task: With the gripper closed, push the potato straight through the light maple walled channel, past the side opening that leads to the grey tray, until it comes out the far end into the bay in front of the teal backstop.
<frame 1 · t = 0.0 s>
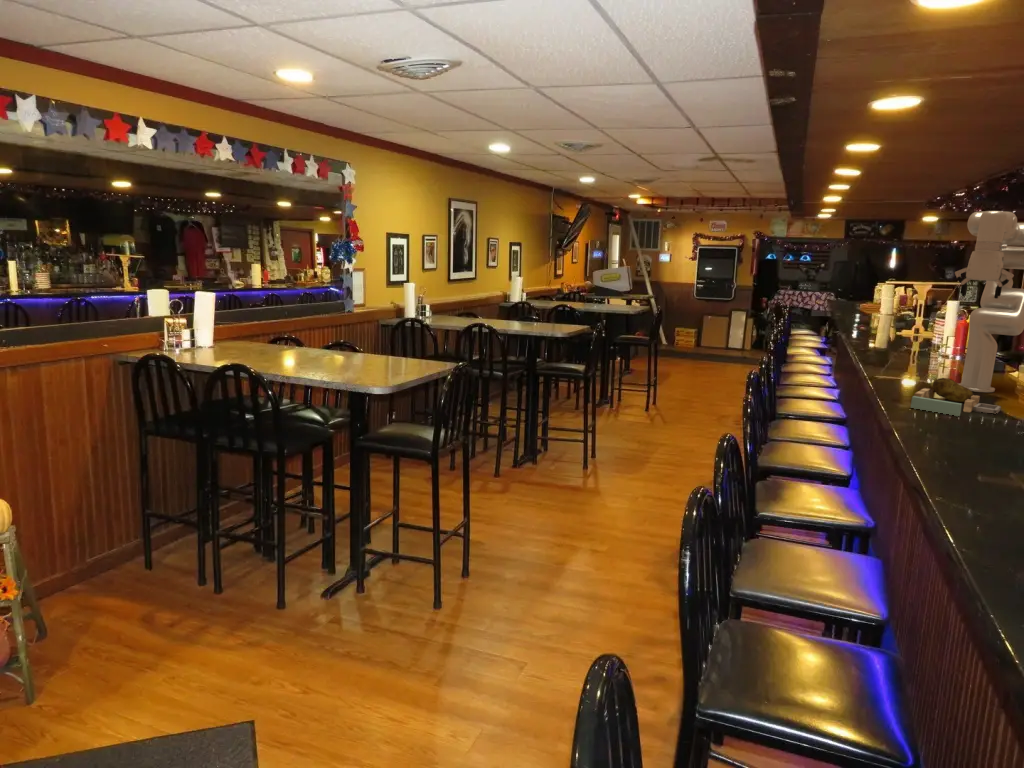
hand: (979, 297, 244), 37 cm above the counter, tool pointing down, fingers open, 9 cm apart
grey tray: (986, 410, 233), on the counter
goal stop: (934, 411, 229), on the counter
tunnel: (945, 404, 240), on the counter
potato: (951, 401, 247), on the counter
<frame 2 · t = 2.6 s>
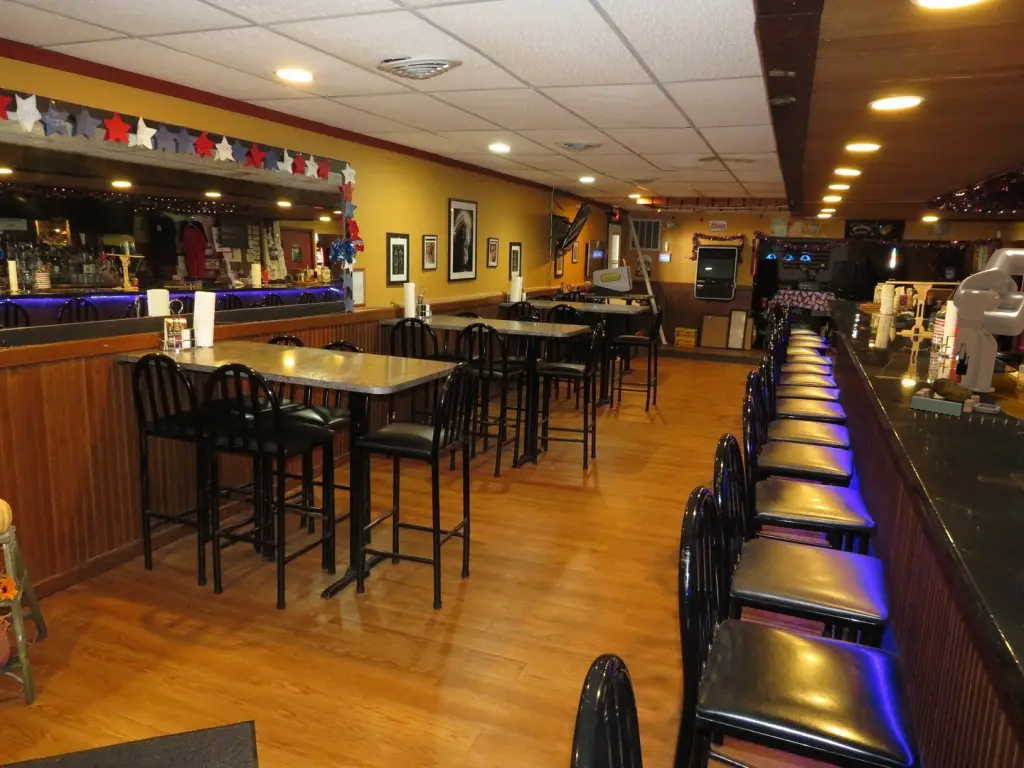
hand: (960, 374, 253), 8 cm above the counter, tool pointing down, fingers closed
nothing on the counter moved.
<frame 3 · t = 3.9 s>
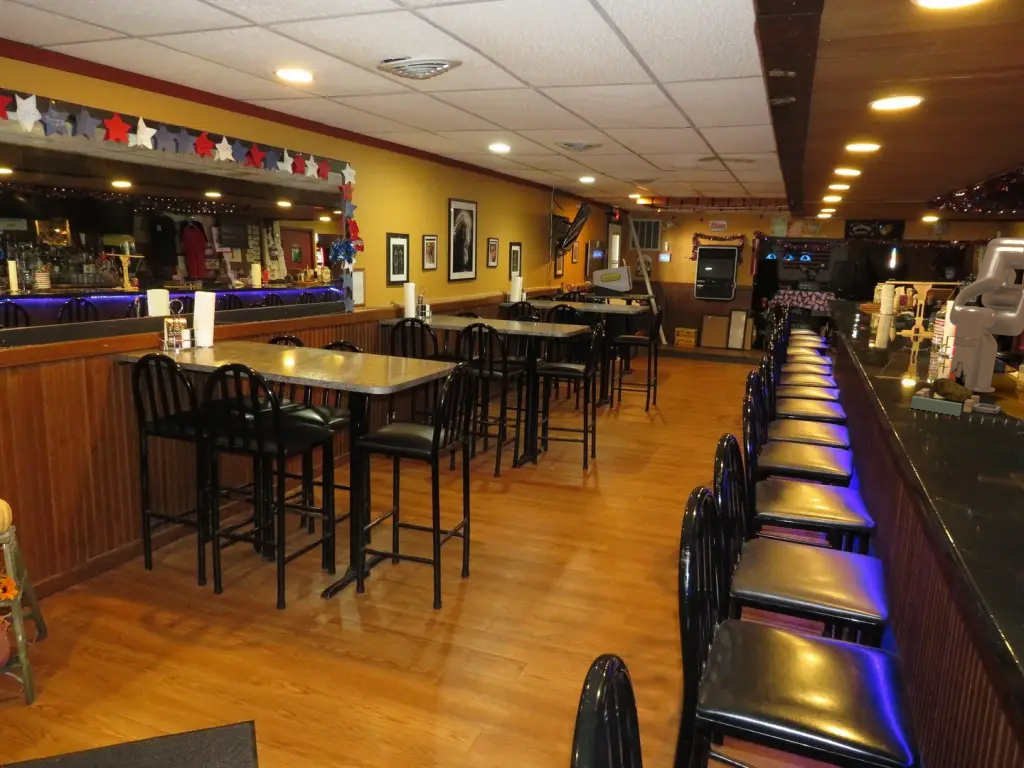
hand: (957, 391, 254), 2 cm above the counter, tool pointing down, fingers closed
nothing on the counter moved.
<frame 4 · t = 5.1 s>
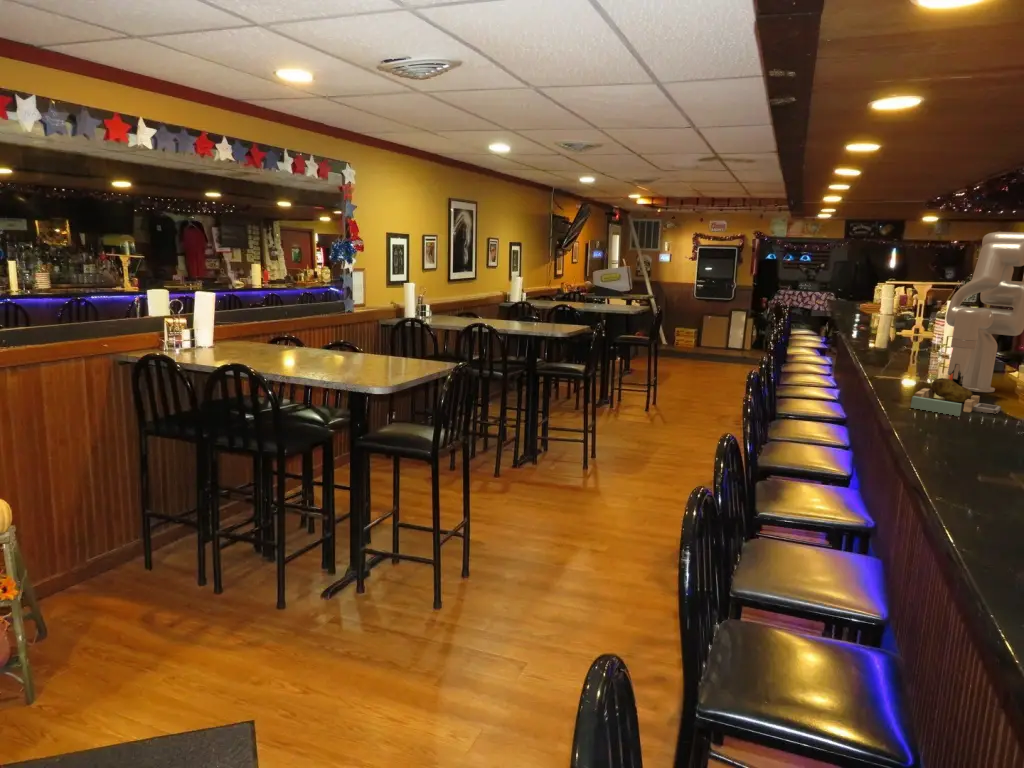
hand: (955, 394, 251), 2 cm above the counter, tool pointing down, fingers closed
potato: (950, 401, 246), on the counter, touching gripper
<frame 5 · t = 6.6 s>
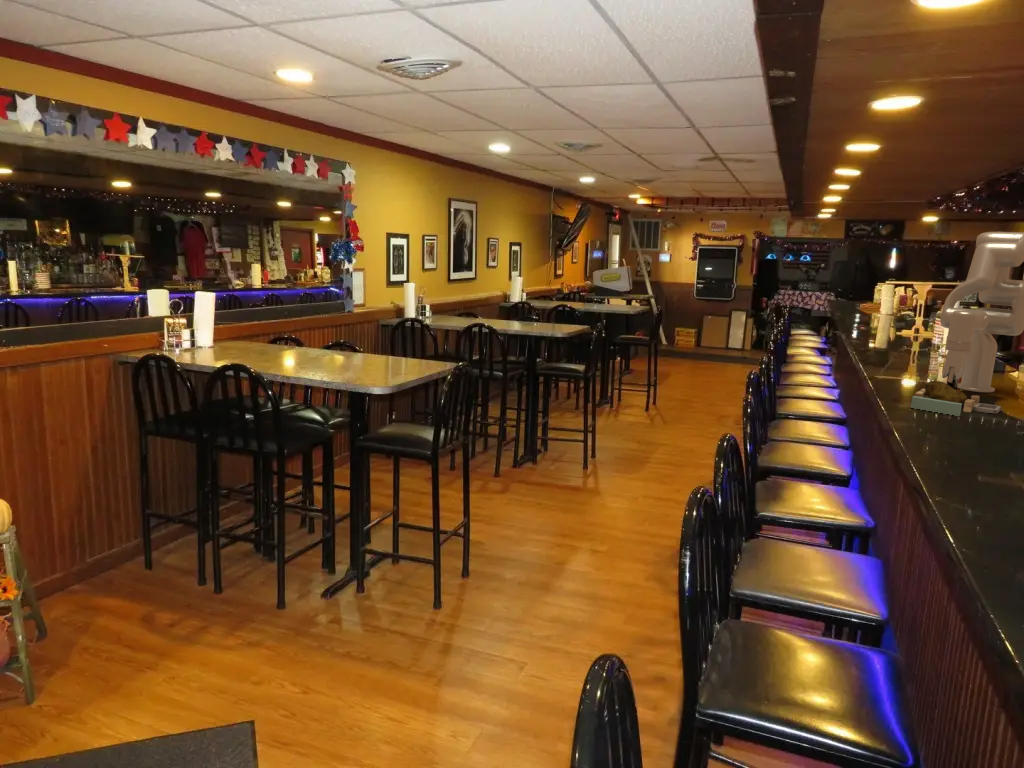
hand: (950, 397, 244), 2 cm above the counter, tool pointing down, fingers closed
potato: (943, 405, 241), on the counter, touching gripper
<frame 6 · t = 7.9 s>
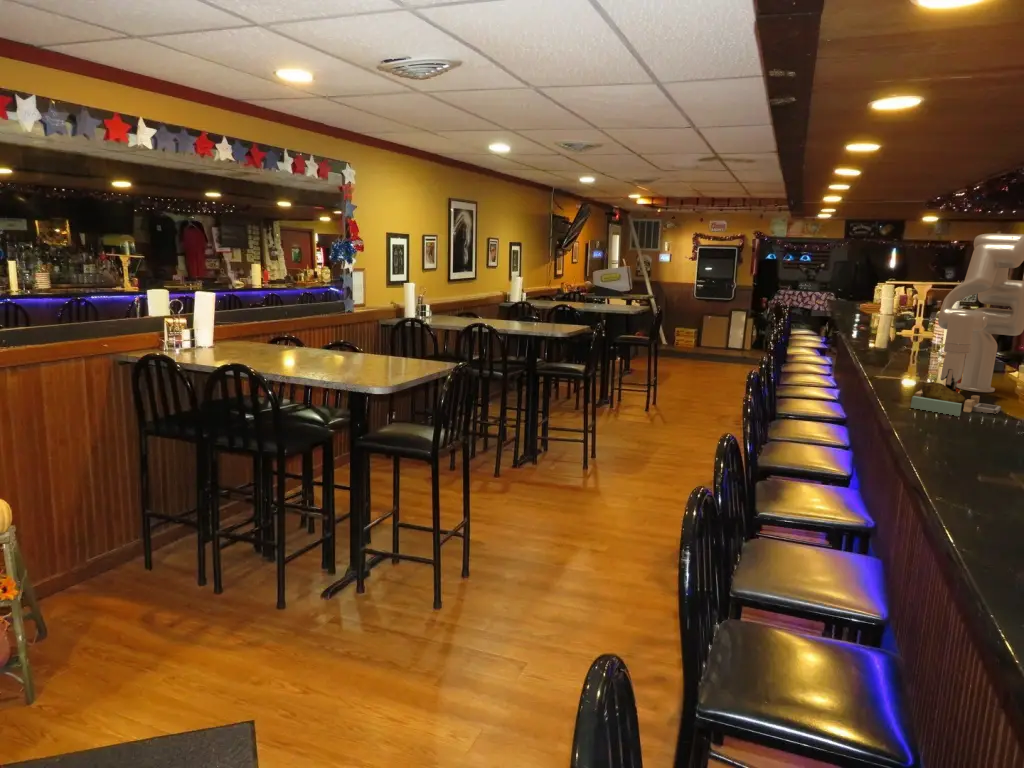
hand: (948, 399, 242), 1 cm above the counter, tool pointing down, fingers closed
potato: (941, 406, 238), on the counter, touching gripper, tunnel
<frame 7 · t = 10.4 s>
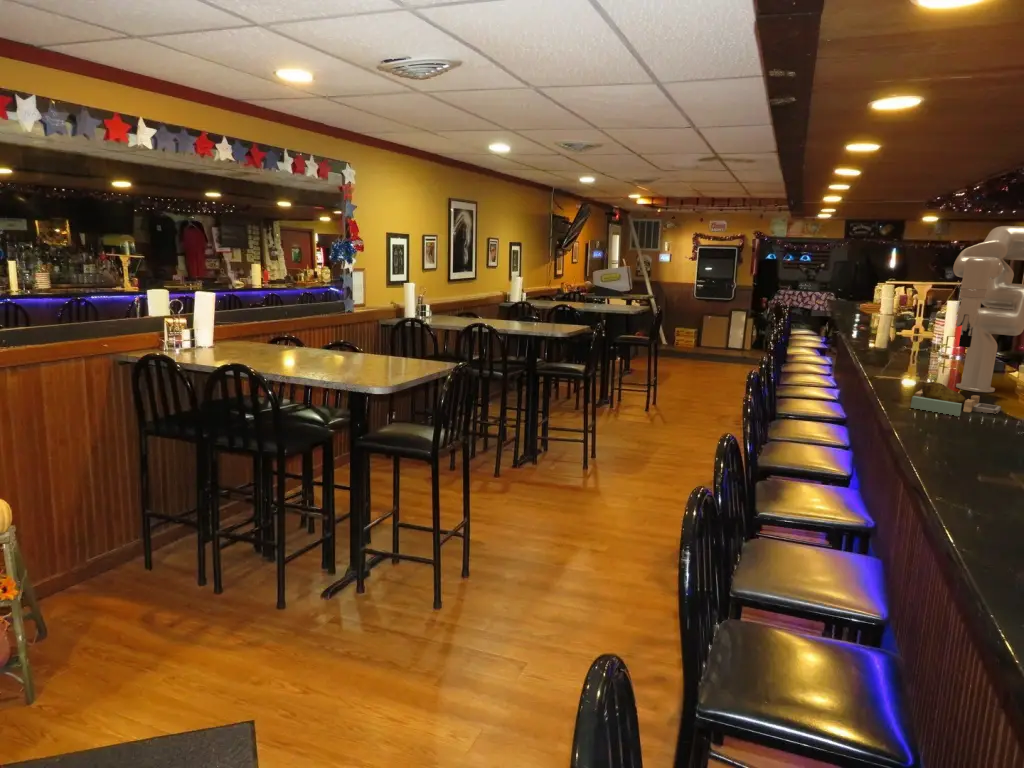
hand: (964, 346, 243), 20 cm above the counter, tool pointing down, fingers closed
potato: (941, 406, 238), on the counter
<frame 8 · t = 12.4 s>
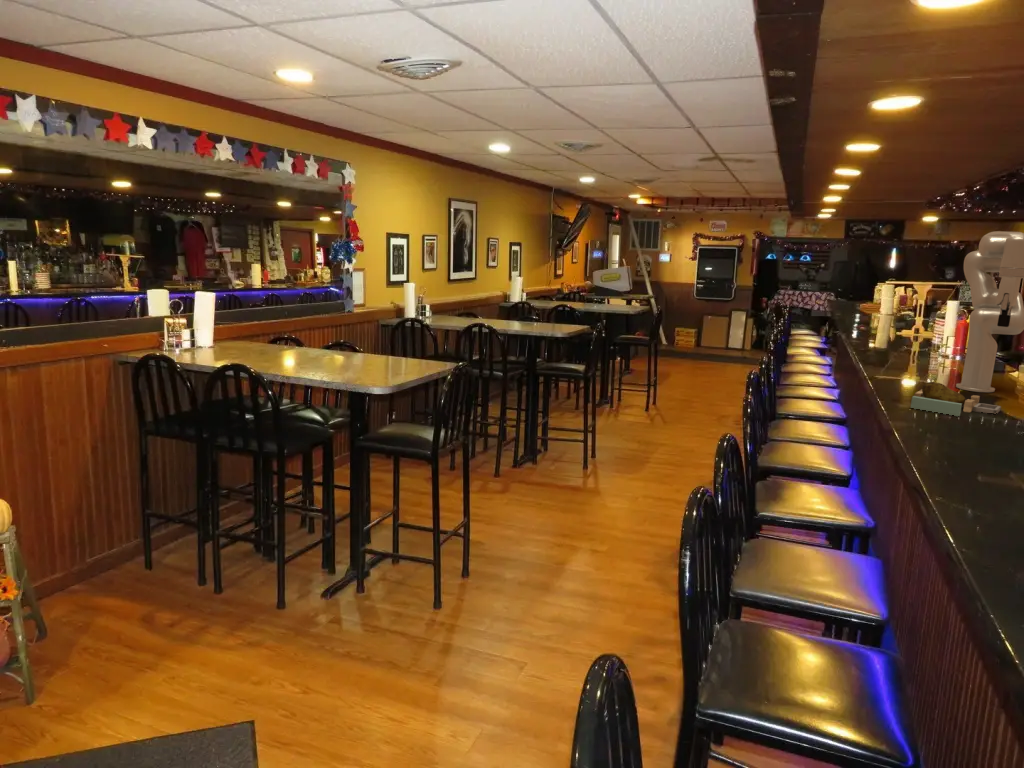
hand: (1002, 326, 242), 27 cm above the counter, tool pointing down, fingers closed
nothing on the counter moved.
at the end: potato inside the target area (5.3 cm from its centre), on the counter; potato touching counter; potato moved 12.7 cm from its start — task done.
